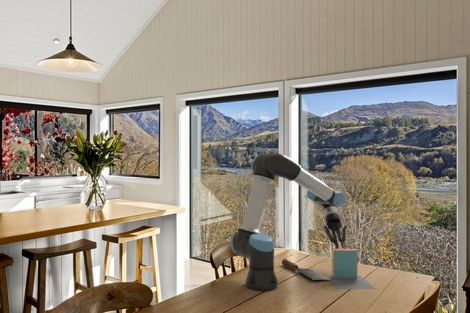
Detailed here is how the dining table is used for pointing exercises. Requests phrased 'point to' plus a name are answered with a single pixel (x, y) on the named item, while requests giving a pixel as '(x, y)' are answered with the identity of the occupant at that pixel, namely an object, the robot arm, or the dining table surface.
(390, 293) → the dining table surface
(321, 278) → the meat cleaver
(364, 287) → the mat
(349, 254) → the tile
